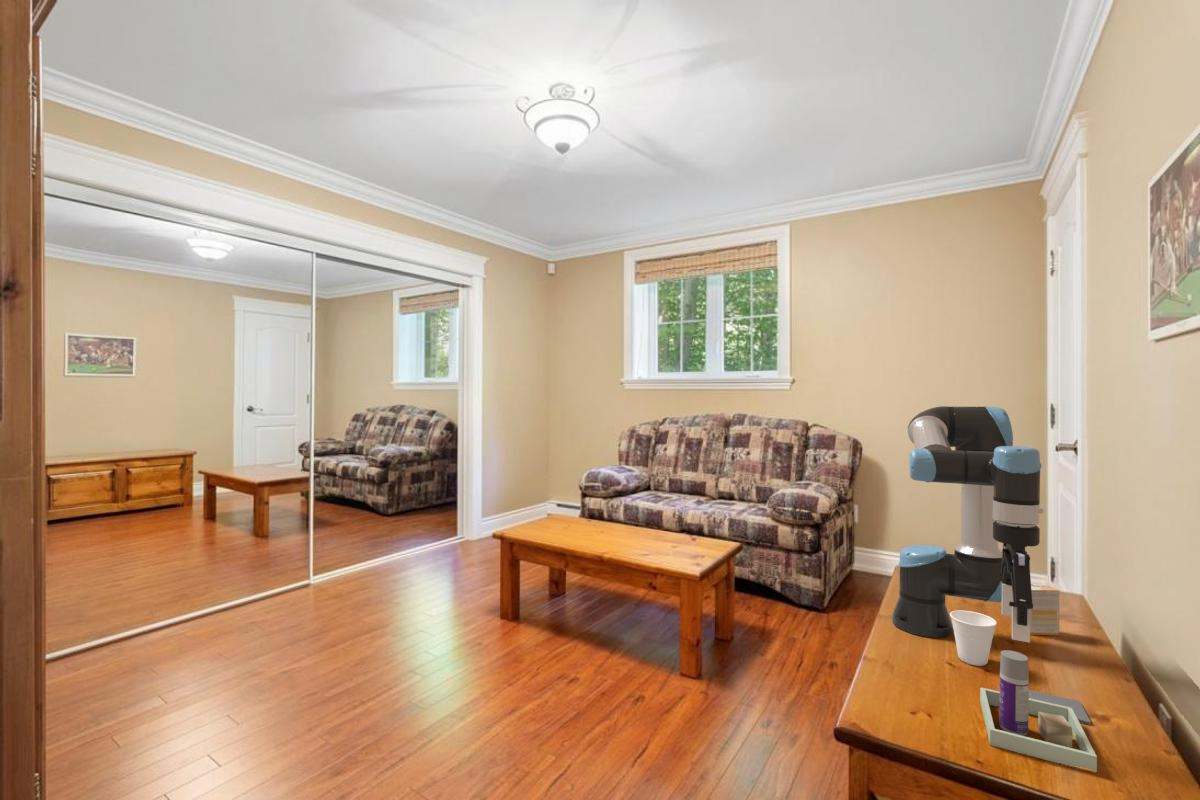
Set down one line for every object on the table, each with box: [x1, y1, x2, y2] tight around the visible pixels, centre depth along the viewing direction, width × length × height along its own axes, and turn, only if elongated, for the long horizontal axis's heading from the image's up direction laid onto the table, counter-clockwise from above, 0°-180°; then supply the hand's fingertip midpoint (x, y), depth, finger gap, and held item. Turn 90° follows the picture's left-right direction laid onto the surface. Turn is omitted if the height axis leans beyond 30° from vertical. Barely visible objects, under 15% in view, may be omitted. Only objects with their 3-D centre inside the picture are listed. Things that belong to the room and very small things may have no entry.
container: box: [998, 649, 1030, 737], centre depth 110 cm, size 5×5×15 cm
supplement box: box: [1020, 583, 1060, 637], centre depth 155 cm, size 8×5×13 cm, turn 84°
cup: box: [949, 609, 998, 667], centre depth 138 cm, size 10×10×11 cm
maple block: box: [1037, 712, 1073, 748], centre depth 107 cm, size 4×4×4 cm
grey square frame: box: [979, 687, 1098, 772], centre depth 108 cm, size 16×18×3 cm
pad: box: [1029, 689, 1092, 726], centre depth 117 cm, size 9×9×1 cm
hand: (1014, 627), depth 110 cm, fingers open, 13 cm apart
